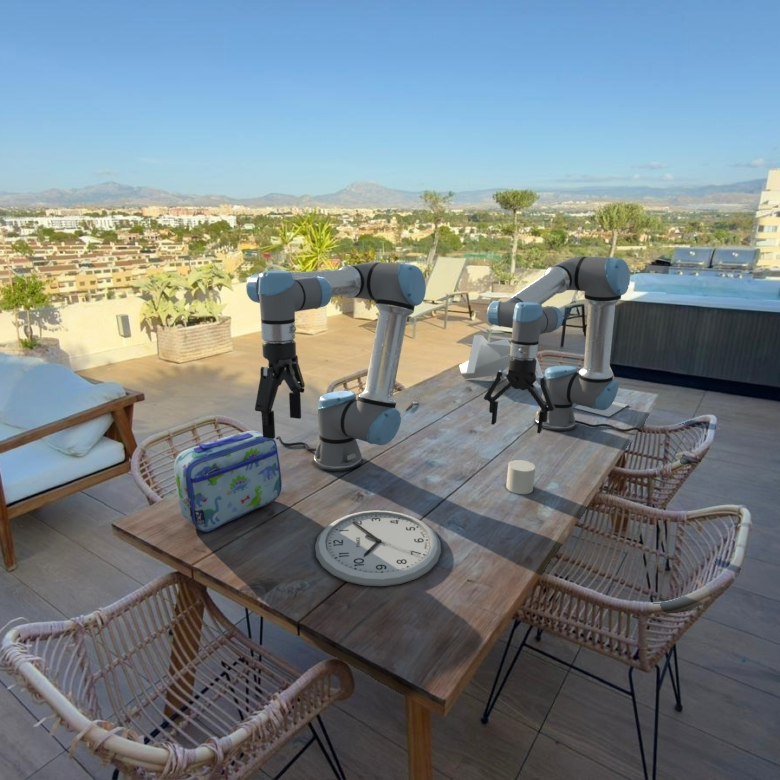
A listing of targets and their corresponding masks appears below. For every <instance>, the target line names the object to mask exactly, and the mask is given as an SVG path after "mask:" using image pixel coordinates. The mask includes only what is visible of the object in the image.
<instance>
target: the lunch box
mask: <svg viewBox="0 0 780 780" xmlns="http://www.w3.org/2000/svg"><path fill="white" fill-rule="evenodd" d="M280 465H281V464H280V459H279V452H278V445H277V442H276V439H275V438H274V439H272V438H265V437H263V433H261V432H259V431H257V430H247V431H243V432H239V433H235V434H231V435H228V436H225V437H221V438H218V439H215V440H212V441H208V442H205V443H198V445H195V446H193V447H190V448H187V449H185V450H182V451H181V452H180V453H179V454H178V455H177V456H176V458H175V460H174V463H173V472H174V473H173V474H174V480H175V487H176V495H177V500H178V506H179V512H180V514H181V516H182V518H184V519H186V520H187V521H189V522H190V523H191V524H192V525H193V526H194V527H195V528H196V529H197V530H200V531H201V532H204V533H205V532H206V533H209V532H211V531H214V530H216V529H217V528H219V527H221V526H223V525H225V524H227V523H229V522H231V521H234V520H236V519H239V518H240V517H242V516H245V515H246V514H249V513H251V512H254V511H255V510H257V509H260V508H263V507H265V506H268V505H270V504H271V503H274V502H275V501H276V500H277V499H279V496H280V495H281V491H282V487H283V486H282V484H283V482H282V473H281V466H280Z"/></svg>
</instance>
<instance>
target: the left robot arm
mask: <svg viewBox="0 0 780 780" xmlns="http://www.w3.org/2000/svg"><path fill="white" fill-rule="evenodd" d="M426 285H427V284H426V278H425V276H424V273H423V271H422V270H421V268H420V267H418V266H417V265H415V264H411V263H405V262H402V263H401V262H400V263H399V262H380V261H370V262H363V263H357V264H351V265H350V264H349V265H343V266H341V267H340V268H339V269H329V270H328V269H326V270H313V271H312V270H310V271H295V272H291V271H288V270H265V271H262V272H260V273H254V274H252V275H250V276H249V277H248V279H247V281H246V287H245V289H246V294H247V297H248V299H249V300H251V301H252V302H254V303H258V304H259V311H260V328H261V329H260V330H261V331H260V332H261V340H263V341H262V343H261V347H262V357H263V358H264V359H265V360H267V361H268V363H267V366H261V367H260V377H259V383H258V384H259V385H258V389H257V393H256V399H255V405H254V411H255V412H260V413H261V414H260V415H261V427H262V429H261V430H262V434H263V437H265V438H272V439H274V440H278V441H279V443H280V444H281V445H282V446H286V447H292V446H298V445H300V446H301V445H302V446H304V447H305V449H306V450H307V451H310V452H314V456H313V463H314V465H315V466H316V467H317V468H318V469H320V470H323V471H327V472H347V471H350V470H354V469H356V468H357V467H359V466H360V465H362V453H361V450H360V447H359V444H358V441H357V440H359V441H362V442H366V443H368V444H370V445H378V446H385V445H387V444H389V443H390V442H391V441H392V440H393V439H394V438H395V437H396V435H397V433H398V432H399V429H400V427H401V423H402V417H401V412H400V411H399V410H398V409H397V408H396V405H397V401H396V399H395V398H394V396H393V395H394V390H395V384H396V381H397V380H396V379H397V376H398V375H397V373H398V369H399V365H400V364H399V363H400V359H401V353H402V350H403V349H402V348H403V344H404V338H405V332H406V327H407V321H408V318H409V317H410V316H411V315H412V314H414V312H415V307H418V306H420V305H421V304H422V303H423V301H424V300H425V297H426V291H427V286H426ZM340 296H341V297H343V298H346V299H353V298H354V299H362V300H367V301H374V302H375V304H374V305H375V307H376V309H377V310H378V317H377V321H376V322H377V323H376V326H375V327H376V328H375V332H374V338H373V343H372V347H371V348H372V349H371V353H370V359H369V363H368V364H369V365H368V369H367V376H366V380H365V385H364V390H363V391H362V392H361V393H359V394H358V395H357V394H356V393H355V392H354V391H351V390H337V391H331V392H328V393H325V394H323V395H321V396H319V398H318V408H317V415H318V436H319V437H318V439H319V440H318V443H317V445H316V447H315V448H312V447H309V446H308V444H307V442H303V441H298V442H297V441H296V442H289V443H287V442H284V441H283V440H282V437H281V436H279V435H278V436H276V428H275V427H276V426H275V411H274V410H273V406H274V403H275V400H276V397H277V393H278V391H279V388H280V387H279V386H281V385H282V383H283V381H284V382H285V383H286V386H287V387H288V389H289V390H290V392H289V393H288V397H289V398H288V401H289V418H291V419H298V420H300V419H302V404H301V401H302V400H301V394H302V393H305V381H304V378H303V374H302V371H301V368H300V364H299V356H298V354H297V343H296V341H295V339H296V331H297V327H296V325H295V323H296V322H295V321H296V312H302V311H309V310H318V309H321V308H324V307H326V306H328V305H329V304H330V303H331V300H332V298H334V297H340Z"/></svg>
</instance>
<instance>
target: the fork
mask: <svg viewBox="0 0 780 780" xmlns="http://www.w3.org/2000/svg"><path fill="white" fill-rule="evenodd" d="M420 399H421V397H420V396H415V397H414V398H413V400H412V404H410V405H408V407H407V408H406V410H405V411H409V410H411V409H412V408H413V406H414V405H415V404H419V402H420Z"/></svg>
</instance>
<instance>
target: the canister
mask: <svg viewBox="0 0 780 780" xmlns="http://www.w3.org/2000/svg"><path fill="white" fill-rule="evenodd" d="M506 474H507V476H506V484H505V485H506V486H505V487H506V489H507V490H508V491H509V492H511V493H513V494H518V495H528V494H531V493H533V491H534V483H535V474H536V465H535V464H534V463H532V462H530V461H528V460H524V459H514V460H511V461H509V462H508V465H507V473H506Z"/></svg>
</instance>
